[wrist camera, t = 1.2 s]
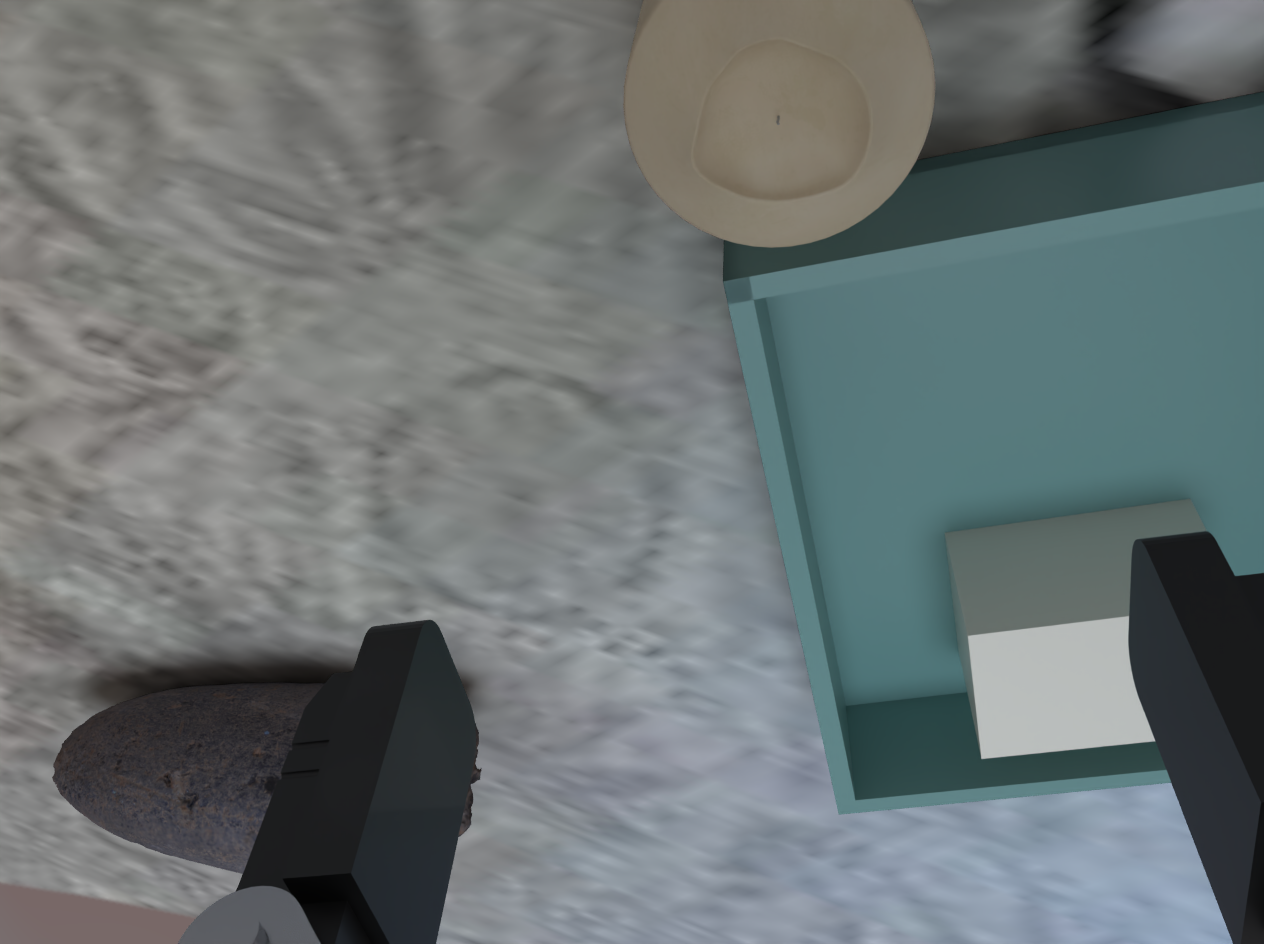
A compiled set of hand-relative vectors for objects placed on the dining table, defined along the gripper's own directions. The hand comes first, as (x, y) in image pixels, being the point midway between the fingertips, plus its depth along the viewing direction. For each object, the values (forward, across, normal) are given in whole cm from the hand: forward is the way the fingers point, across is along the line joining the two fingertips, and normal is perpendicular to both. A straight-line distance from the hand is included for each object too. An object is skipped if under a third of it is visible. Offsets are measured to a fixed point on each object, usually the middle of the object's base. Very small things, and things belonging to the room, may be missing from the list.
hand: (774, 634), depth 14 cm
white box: (+19, -8, +16) cm, 26 cm away
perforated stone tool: (+20, +19, +19) cm, 34 cm away
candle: (+20, -1, -2) cm, 20 cm away
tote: (+19, -7, +12) cm, 24 cm away
